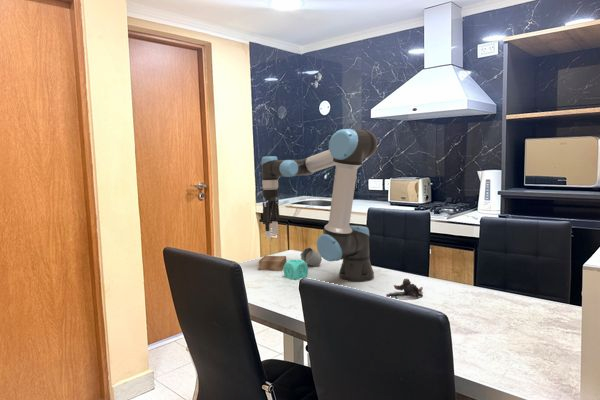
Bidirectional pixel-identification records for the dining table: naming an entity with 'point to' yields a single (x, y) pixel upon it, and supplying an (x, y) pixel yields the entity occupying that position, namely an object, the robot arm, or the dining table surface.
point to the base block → (272, 263)
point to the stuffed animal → (406, 291)
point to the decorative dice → (295, 269)
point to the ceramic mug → (311, 257)
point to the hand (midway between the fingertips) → (271, 236)
